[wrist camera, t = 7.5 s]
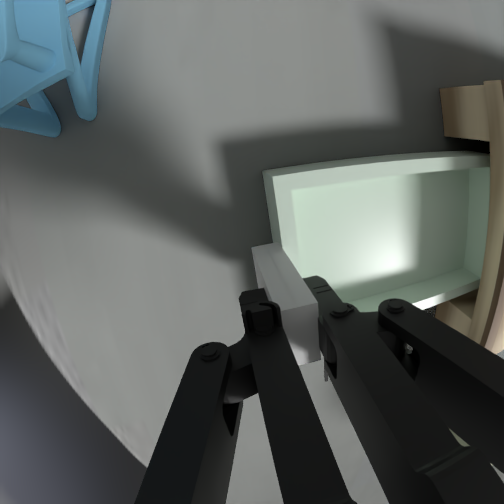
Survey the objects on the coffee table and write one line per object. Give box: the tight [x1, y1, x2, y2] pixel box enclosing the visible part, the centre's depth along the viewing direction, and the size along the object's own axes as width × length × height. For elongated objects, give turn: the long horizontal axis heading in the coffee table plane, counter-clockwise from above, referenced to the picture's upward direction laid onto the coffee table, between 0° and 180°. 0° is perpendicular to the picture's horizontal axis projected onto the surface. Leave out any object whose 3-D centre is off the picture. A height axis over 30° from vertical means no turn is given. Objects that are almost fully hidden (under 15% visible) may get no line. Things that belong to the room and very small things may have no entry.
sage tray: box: [262, 151, 490, 312], centre depth 18 cm, size 16×10×3 cm, turn 99°
